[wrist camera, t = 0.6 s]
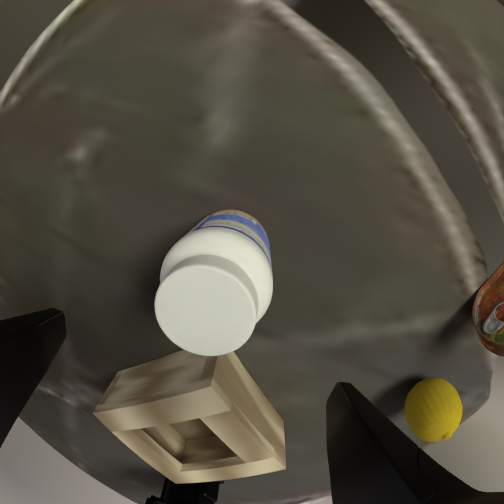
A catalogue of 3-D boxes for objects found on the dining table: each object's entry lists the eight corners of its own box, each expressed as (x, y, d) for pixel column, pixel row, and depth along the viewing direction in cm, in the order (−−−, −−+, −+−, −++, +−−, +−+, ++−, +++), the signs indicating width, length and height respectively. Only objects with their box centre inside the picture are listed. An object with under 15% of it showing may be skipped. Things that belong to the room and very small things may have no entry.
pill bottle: (224, 296, 21) (198, 388, 12) (176, 239, 20) (112, 300, 10) (285, 254, 20) (304, 331, 10) (237, 191, 19) (212, 216, 9)
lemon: (384, 391, 23) (410, 451, 16) (426, 354, 22) (465, 408, 14) (409, 407, 24) (434, 460, 17) (447, 374, 23) (480, 423, 15)
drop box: (185, 443, 27) (175, 483, 21) (117, 371, 24) (92, 413, 18) (283, 421, 25) (286, 468, 19) (222, 335, 22) (210, 386, 16)
